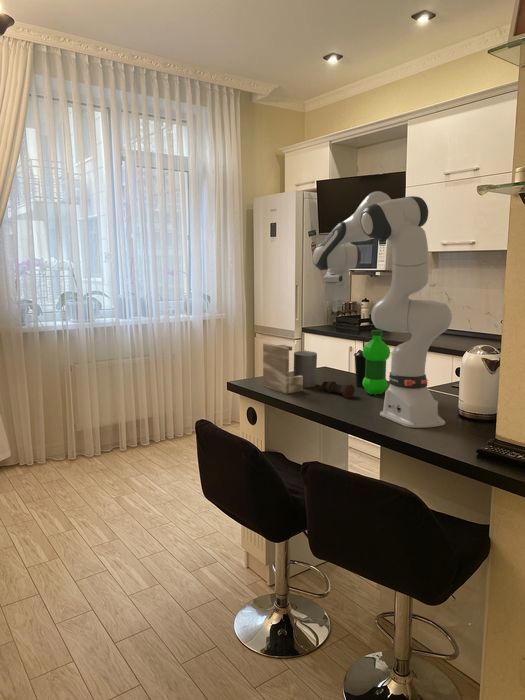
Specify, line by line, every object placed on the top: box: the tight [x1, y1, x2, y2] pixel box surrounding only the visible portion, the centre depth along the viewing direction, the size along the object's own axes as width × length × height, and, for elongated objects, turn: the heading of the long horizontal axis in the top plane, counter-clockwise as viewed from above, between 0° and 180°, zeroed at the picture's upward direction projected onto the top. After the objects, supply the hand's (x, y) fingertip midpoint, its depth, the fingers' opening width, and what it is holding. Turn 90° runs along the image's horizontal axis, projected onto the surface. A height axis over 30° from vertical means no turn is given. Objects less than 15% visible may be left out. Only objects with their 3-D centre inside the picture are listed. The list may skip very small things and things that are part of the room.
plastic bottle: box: [362, 329, 391, 396], centre depth 210 cm, size 10×10×25 cm
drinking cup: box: [353, 338, 366, 388], centre depth 222 cm, size 8×8×20 cm
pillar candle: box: [293, 349, 318, 389], centre depth 224 cm, size 10×10×15 cm
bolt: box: [321, 380, 356, 399], centre depth 212 cm, size 6×5×15 cm
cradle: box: [262, 342, 304, 395], centre depth 218 cm, size 9×16×18 cm, turn 33°
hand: (337, 311), depth 221 cm, fingers open, 3 cm apart
